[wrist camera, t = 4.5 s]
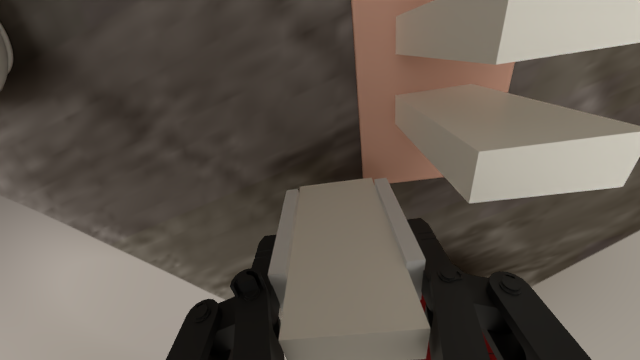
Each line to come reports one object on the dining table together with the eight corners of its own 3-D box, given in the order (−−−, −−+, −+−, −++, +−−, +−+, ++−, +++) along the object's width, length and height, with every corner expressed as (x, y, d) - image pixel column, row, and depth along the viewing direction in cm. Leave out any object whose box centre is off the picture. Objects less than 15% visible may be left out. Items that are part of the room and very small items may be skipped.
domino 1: (300, 186, 17) (278, 340, 8) (371, 177, 16) (430, 328, 8) (305, 209, 18) (290, 368, 9) (372, 201, 17) (425, 358, 9)
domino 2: (395, 16, 14) (515, -35, 5) (484, 0, 14) (772, -82, 5) (395, 54, 15) (495, 64, 6) (478, 40, 15) (709, 32, 6)
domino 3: (395, 95, 16) (479, 151, 7) (471, 83, 16) (654, 129, 7) (395, 123, 17) (468, 203, 8) (466, 113, 17) (622, 186, 8)
